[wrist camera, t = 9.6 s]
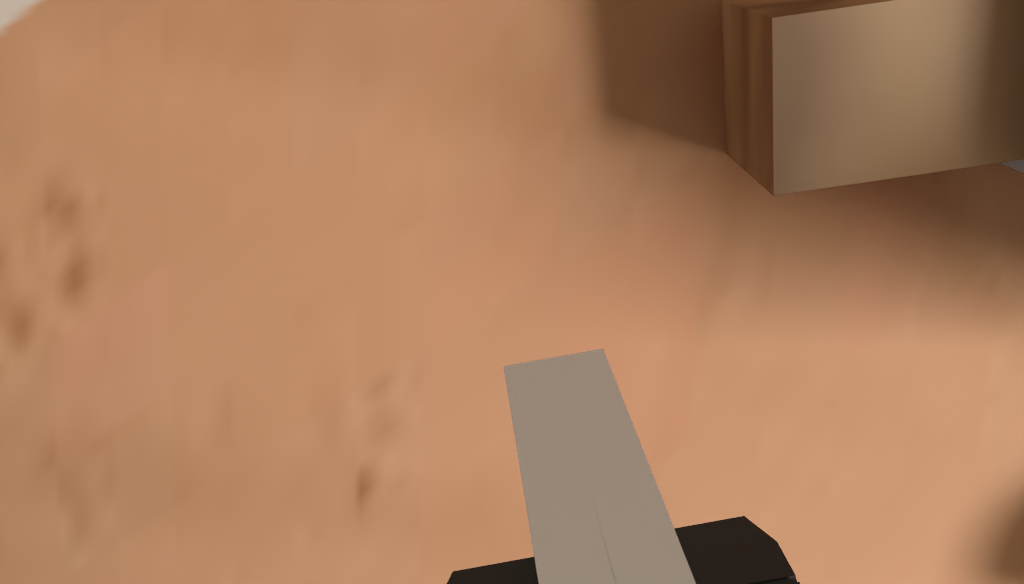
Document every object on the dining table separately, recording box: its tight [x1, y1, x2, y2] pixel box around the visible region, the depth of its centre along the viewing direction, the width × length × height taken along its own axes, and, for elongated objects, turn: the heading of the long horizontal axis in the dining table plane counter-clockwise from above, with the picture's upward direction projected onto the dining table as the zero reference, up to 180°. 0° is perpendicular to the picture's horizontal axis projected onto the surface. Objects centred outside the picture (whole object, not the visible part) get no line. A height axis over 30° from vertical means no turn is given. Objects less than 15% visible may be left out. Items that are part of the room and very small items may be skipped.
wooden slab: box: [722, 0, 1024, 196], centre depth 27 cm, size 14×5×5 cm, turn 97°
